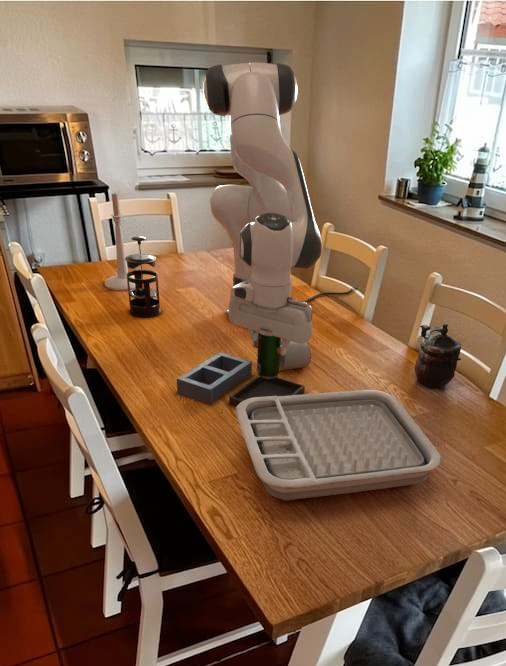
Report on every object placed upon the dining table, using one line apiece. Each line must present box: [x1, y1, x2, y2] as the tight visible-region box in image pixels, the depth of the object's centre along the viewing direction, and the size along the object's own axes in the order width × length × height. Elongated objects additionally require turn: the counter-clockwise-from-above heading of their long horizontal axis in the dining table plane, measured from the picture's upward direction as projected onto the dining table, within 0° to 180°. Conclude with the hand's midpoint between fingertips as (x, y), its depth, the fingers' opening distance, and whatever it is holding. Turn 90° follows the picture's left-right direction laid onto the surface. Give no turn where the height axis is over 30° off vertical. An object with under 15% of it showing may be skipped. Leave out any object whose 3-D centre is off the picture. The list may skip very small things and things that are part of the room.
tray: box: [228, 375, 306, 408], centre depth 142 cm, size 15×12×2 cm
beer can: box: [256, 328, 282, 379], centre depth 136 cm, size 5×5×12 cm
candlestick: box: [104, 192, 136, 292], centre depth 194 cm, size 13×13×30 cm
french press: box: [125, 235, 162, 319], centre depth 177 cm, size 12×9×23 cm
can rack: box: [176, 351, 253, 405], centre depth 146 cm, size 18×10×4 cm, turn 153°
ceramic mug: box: [280, 340, 312, 371], centre depth 157 cm, size 11×8×8 cm
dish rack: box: [235, 389, 442, 501], centre depth 121 cm, size 32×37×8 cm
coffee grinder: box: [414, 322, 462, 389], centre depth 151 cm, size 13×15×18 cm
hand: (269, 350), depth 136 cm, fingers closed on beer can, 5 cm apart
